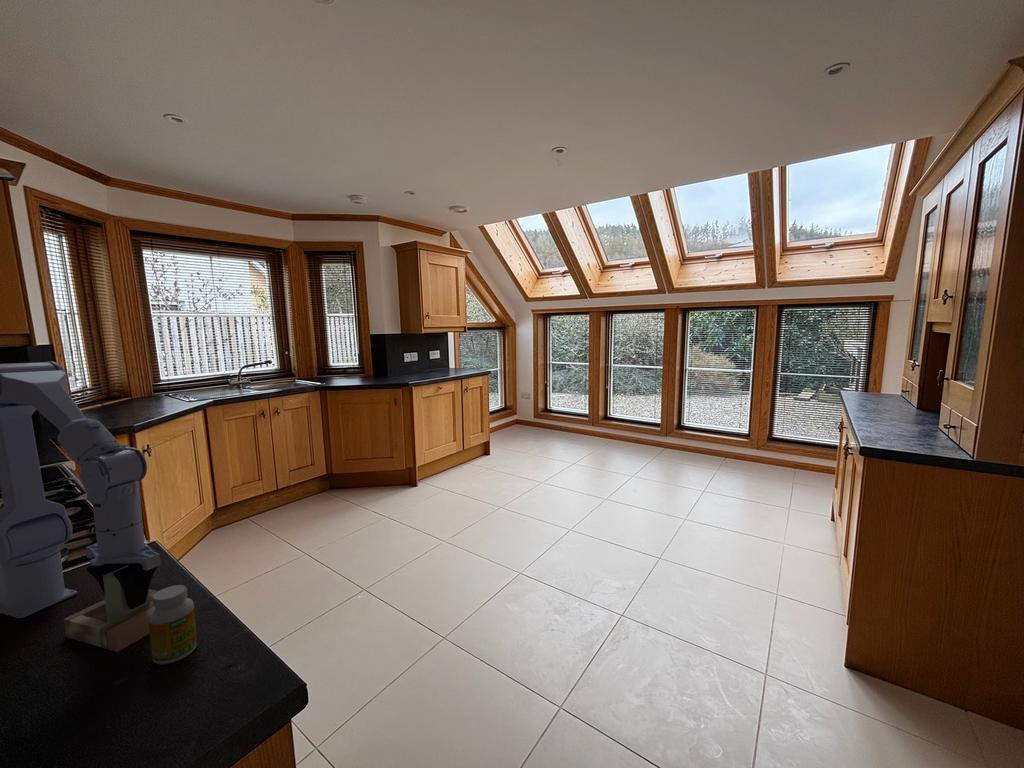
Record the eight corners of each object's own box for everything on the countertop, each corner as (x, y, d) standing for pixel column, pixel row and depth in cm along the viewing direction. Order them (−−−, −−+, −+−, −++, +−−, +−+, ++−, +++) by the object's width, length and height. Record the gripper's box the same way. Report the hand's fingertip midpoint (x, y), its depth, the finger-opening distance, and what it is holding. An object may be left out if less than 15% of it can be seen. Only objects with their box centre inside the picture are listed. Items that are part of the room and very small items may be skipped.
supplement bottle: (172, 668, 62) (167, 604, 62) (142, 663, 64) (136, 600, 63) (206, 642, 68) (201, 583, 67) (177, 638, 69) (172, 580, 68)
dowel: (107, 622, 71) (103, 575, 70) (134, 608, 75) (130, 563, 74) (123, 626, 70) (119, 579, 69) (150, 612, 74) (147, 567, 73)
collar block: (65, 636, 70) (63, 619, 69) (135, 601, 79) (134, 585, 79) (107, 649, 67) (105, 630, 66) (174, 610, 76) (173, 594, 76)
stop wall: (108, 649, 66) (106, 631, 66) (176, 610, 76) (174, 594, 76) (117, 652, 66) (115, 633, 66) (184, 612, 75) (182, 596, 75)
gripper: (59, 529, 69) (68, 609, 70) (121, 540, 65) (130, 626, 66) (111, 512, 76) (119, 586, 77) (170, 521, 71) (177, 599, 73)
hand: (127, 603), depth 72 cm, fingers open, 4 cm apart
